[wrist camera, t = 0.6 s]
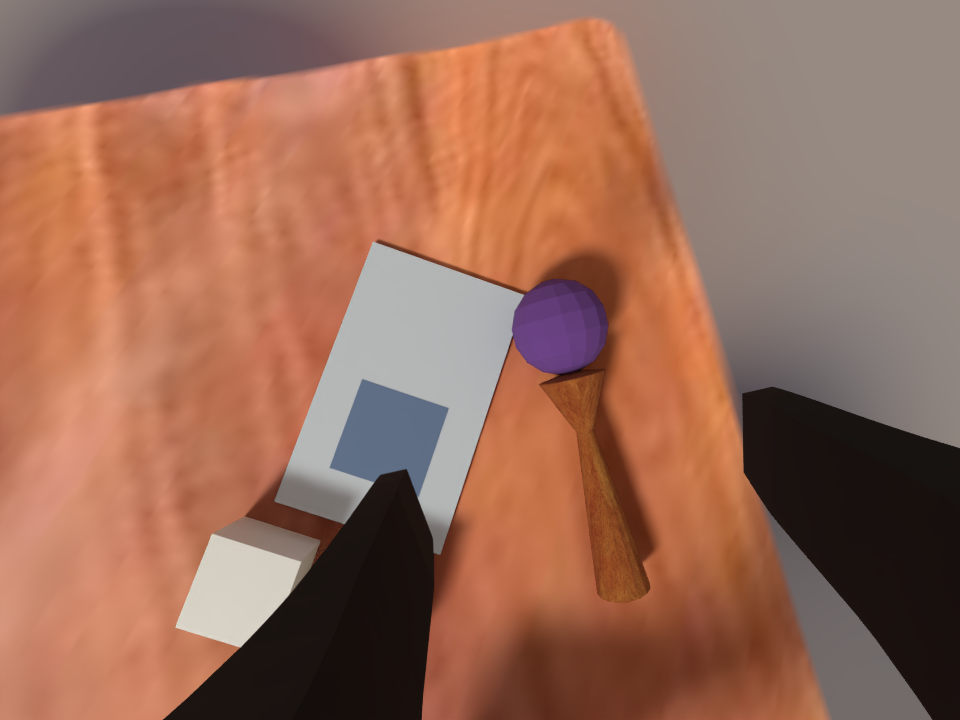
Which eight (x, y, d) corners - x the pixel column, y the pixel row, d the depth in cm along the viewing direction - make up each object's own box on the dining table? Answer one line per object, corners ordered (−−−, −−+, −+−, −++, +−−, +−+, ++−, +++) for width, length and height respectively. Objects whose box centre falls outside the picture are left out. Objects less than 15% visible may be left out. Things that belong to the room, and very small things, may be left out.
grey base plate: (440, 553, 31) (440, 555, 30) (276, 500, 30) (274, 501, 30) (524, 296, 33) (525, 295, 33) (373, 243, 33) (373, 241, 32)
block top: (292, 618, 30) (266, 655, 25) (214, 595, 30) (175, 627, 25) (321, 539, 30) (301, 562, 26) (245, 515, 30) (212, 533, 26)
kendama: (583, 623, 27) (501, 286, 28) (571, 575, 33) (503, 298, 34) (687, 603, 27) (603, 260, 27) (656, 558, 33) (587, 277, 33)
